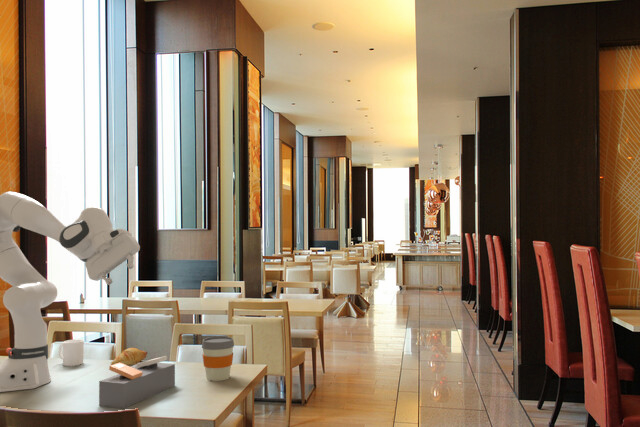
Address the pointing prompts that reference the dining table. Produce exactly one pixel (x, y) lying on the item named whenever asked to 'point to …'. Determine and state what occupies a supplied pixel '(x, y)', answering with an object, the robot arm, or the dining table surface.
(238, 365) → the dining table surface
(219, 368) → the reusable coffee cup
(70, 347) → the cup
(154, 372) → the block
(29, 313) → the robot arm
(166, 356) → the rocker grey
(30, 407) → the dining table surface
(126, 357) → the croissant
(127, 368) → the rocker orange
